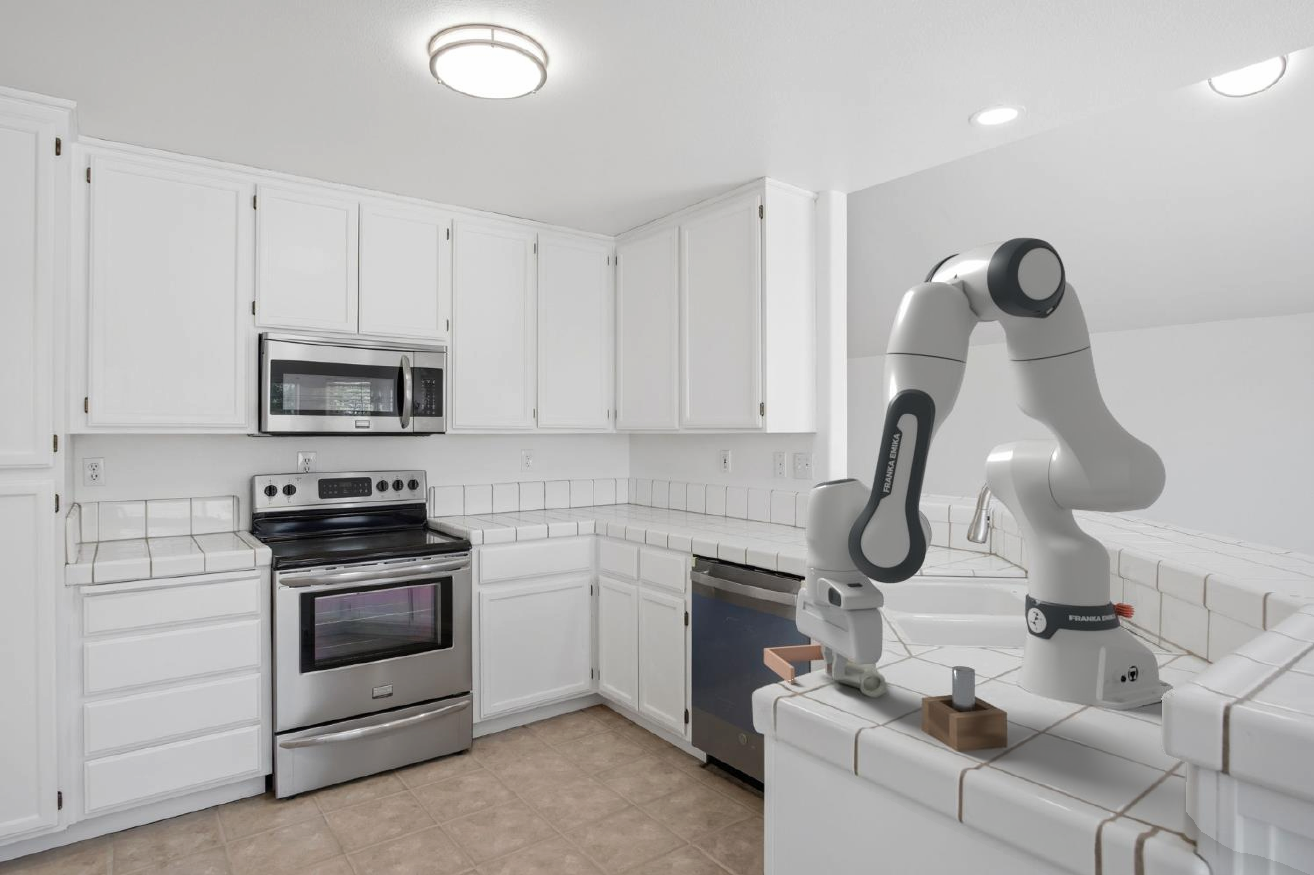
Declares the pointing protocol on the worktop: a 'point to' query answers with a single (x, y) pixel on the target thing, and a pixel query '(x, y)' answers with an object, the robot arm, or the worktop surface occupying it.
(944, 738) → the block
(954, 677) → the cylinder
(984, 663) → the worktop surface
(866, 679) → the pipe fitting
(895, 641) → the worktop surface
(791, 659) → the corral
